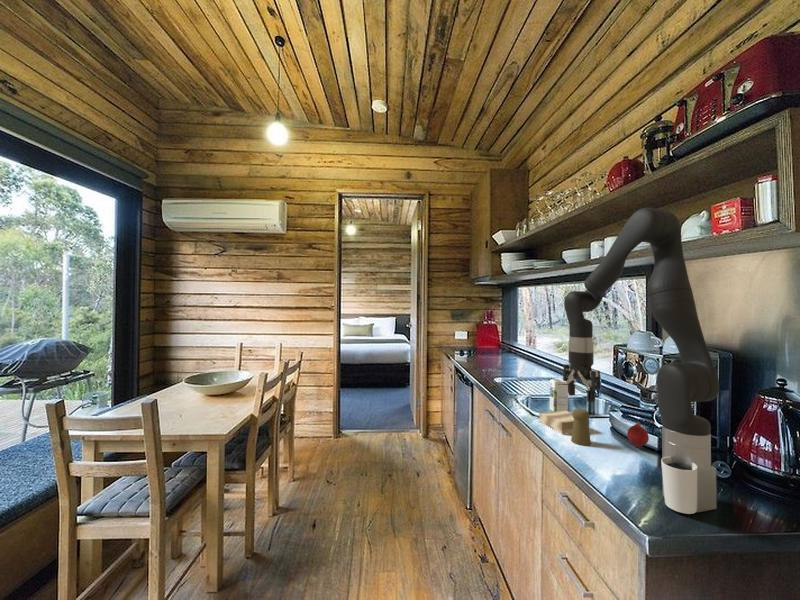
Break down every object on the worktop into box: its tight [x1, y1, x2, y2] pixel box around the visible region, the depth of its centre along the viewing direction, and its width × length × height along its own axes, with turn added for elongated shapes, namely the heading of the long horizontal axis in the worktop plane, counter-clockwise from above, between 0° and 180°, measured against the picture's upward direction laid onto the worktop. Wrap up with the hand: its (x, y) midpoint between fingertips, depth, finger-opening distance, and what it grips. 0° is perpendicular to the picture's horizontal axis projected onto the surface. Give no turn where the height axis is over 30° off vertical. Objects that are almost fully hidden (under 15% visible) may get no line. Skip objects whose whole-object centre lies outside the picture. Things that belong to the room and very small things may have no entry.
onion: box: [626, 422, 649, 448], centre depth 114 cm, size 6×6×8 cm
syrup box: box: [549, 378, 569, 412], centre depth 149 cm, size 6×6×14 cm
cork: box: [570, 408, 592, 447], centre depth 118 cm, size 6×6×11 cm
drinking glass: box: [660, 457, 698, 515], centre depth 81 cm, size 7×7×10 cm
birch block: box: [539, 410, 590, 435], centre depth 132 cm, size 12×12×5 cm
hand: (580, 398), depth 119 cm, fingers open, 8 cm apart
